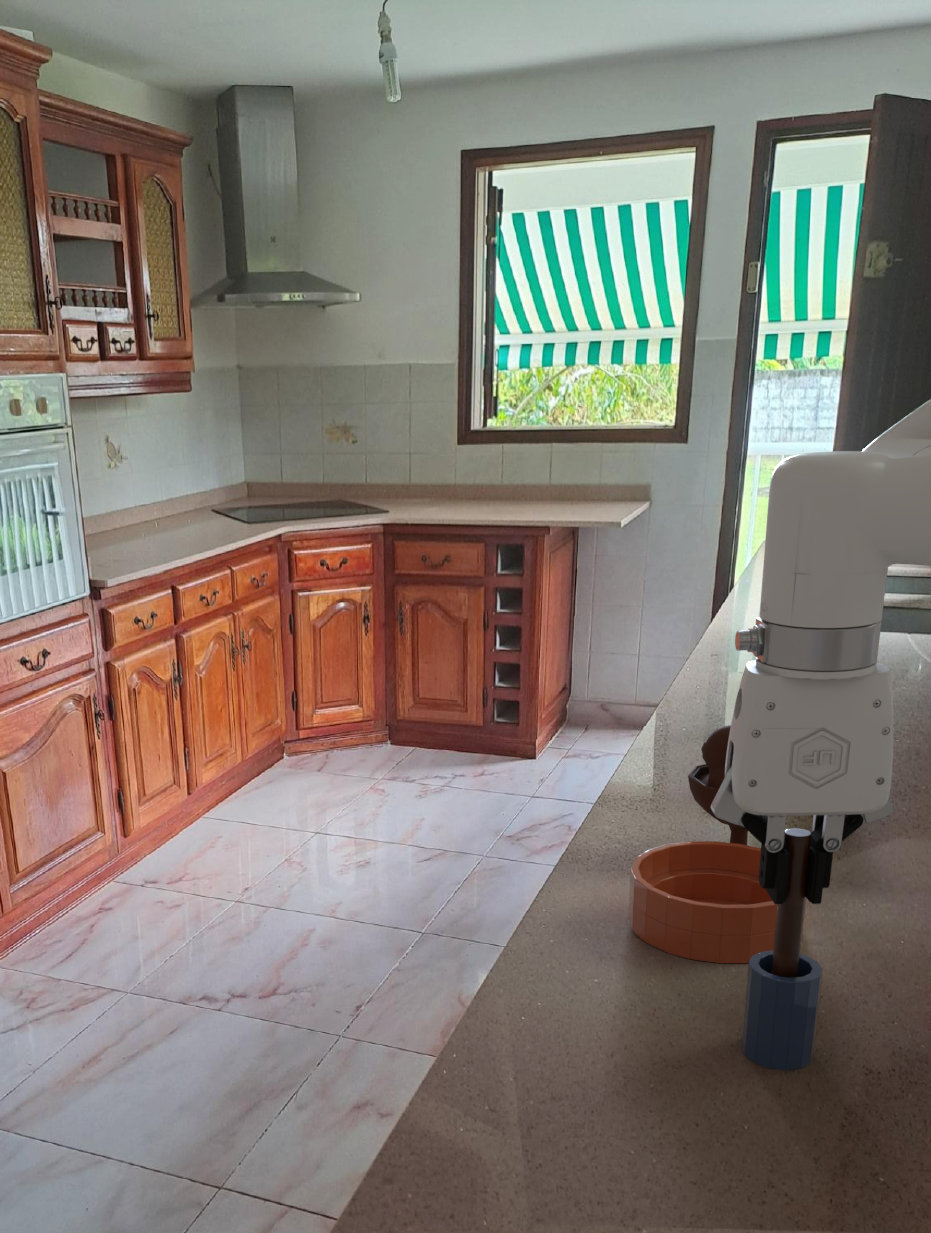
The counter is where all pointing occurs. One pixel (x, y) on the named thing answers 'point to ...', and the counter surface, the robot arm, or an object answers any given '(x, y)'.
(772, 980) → the utensil pot
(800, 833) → the stirring stick
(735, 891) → the mixing bowl
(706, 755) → the ice cream bowl
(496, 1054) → the counter surface
